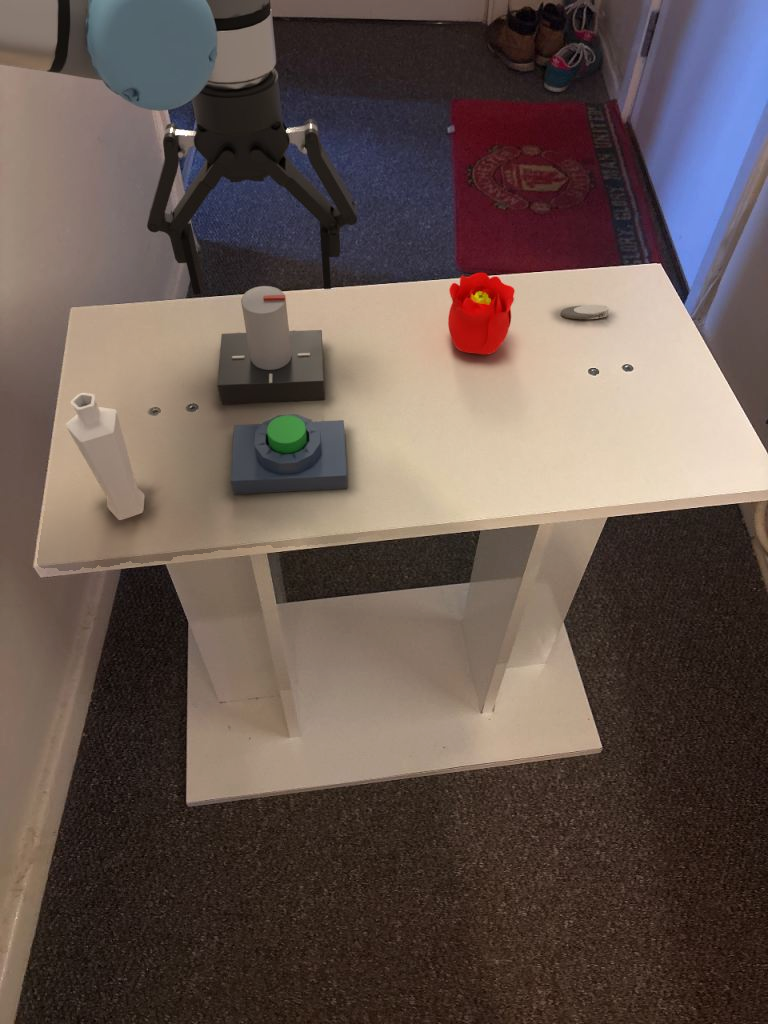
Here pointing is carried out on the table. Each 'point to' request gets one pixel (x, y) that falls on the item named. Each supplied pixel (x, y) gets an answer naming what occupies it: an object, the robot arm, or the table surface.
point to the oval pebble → (585, 312)
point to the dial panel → (271, 371)
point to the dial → (267, 327)
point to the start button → (287, 434)
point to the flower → (480, 313)
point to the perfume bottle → (106, 454)
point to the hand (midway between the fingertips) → (263, 284)
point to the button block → (289, 459)
